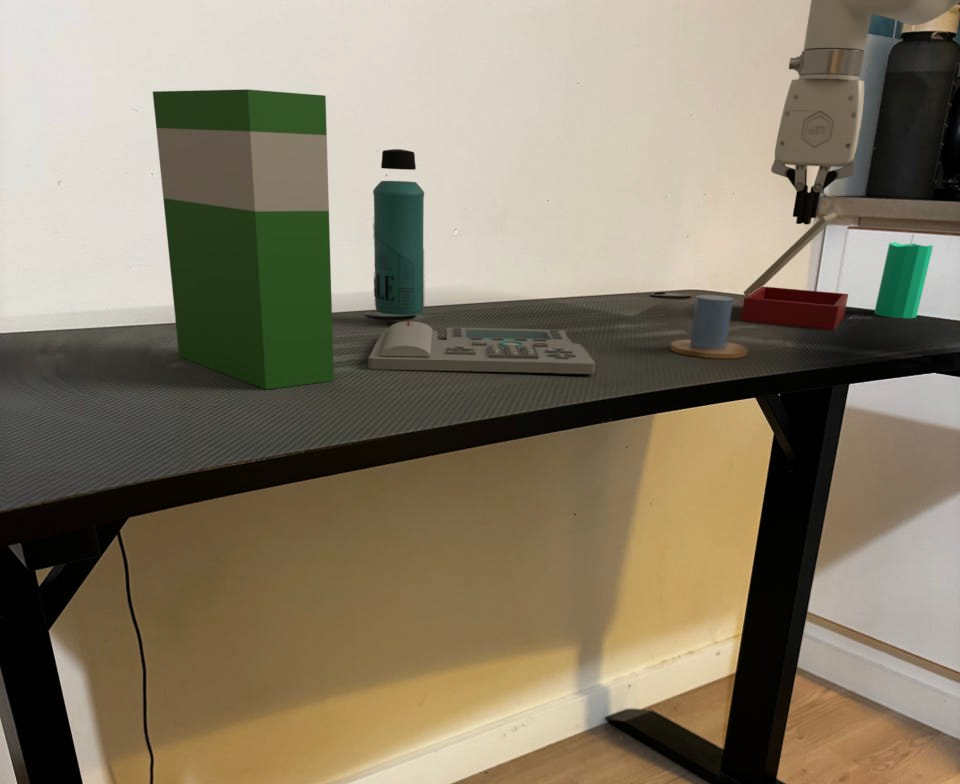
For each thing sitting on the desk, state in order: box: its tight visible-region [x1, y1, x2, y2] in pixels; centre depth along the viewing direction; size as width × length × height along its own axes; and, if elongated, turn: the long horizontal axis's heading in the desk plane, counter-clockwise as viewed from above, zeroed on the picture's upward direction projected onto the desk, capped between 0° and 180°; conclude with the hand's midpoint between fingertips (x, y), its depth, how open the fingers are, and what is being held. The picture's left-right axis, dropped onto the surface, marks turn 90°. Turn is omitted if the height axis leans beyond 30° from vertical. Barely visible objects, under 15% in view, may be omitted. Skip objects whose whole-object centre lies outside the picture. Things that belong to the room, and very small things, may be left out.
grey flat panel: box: [743, 212, 838, 297], centre depth 134 cm, size 13×15×1 cm
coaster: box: [670, 338, 749, 360], centre depth 115 cm, size 9×9×1 cm
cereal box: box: [152, 88, 335, 390], centre depth 91 cm, size 18×7×24 cm, turn 41°
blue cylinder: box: [690, 294, 734, 349], centre depth 113 cm, size 4×4×6 cm
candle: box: [874, 232, 934, 319], centre depth 142 cm, size 6×6×12 cm
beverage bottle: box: [372, 148, 426, 316], centre depth 119 cm, size 6×7×20 cm
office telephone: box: [367, 319, 596, 375], centre depth 107 cm, size 23×3×20 cm
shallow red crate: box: [740, 285, 849, 331], centre depth 137 cm, size 12×15×4 cm
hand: (803, 223), depth 132 cm, fingers closed
